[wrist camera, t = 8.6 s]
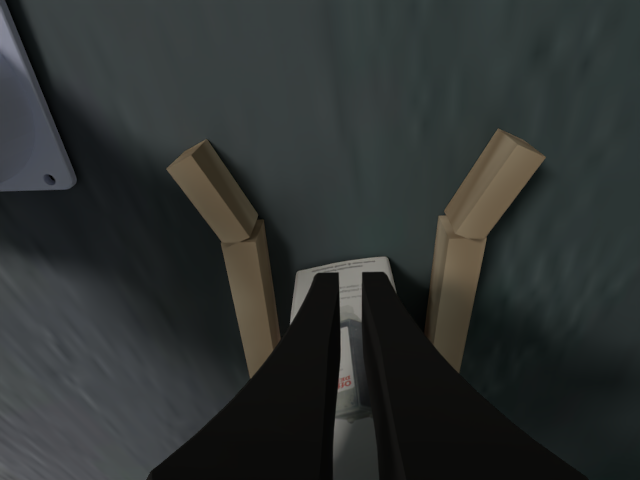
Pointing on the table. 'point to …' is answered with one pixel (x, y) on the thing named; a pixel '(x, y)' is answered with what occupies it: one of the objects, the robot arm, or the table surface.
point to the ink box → (350, 369)
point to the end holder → (449, 254)
